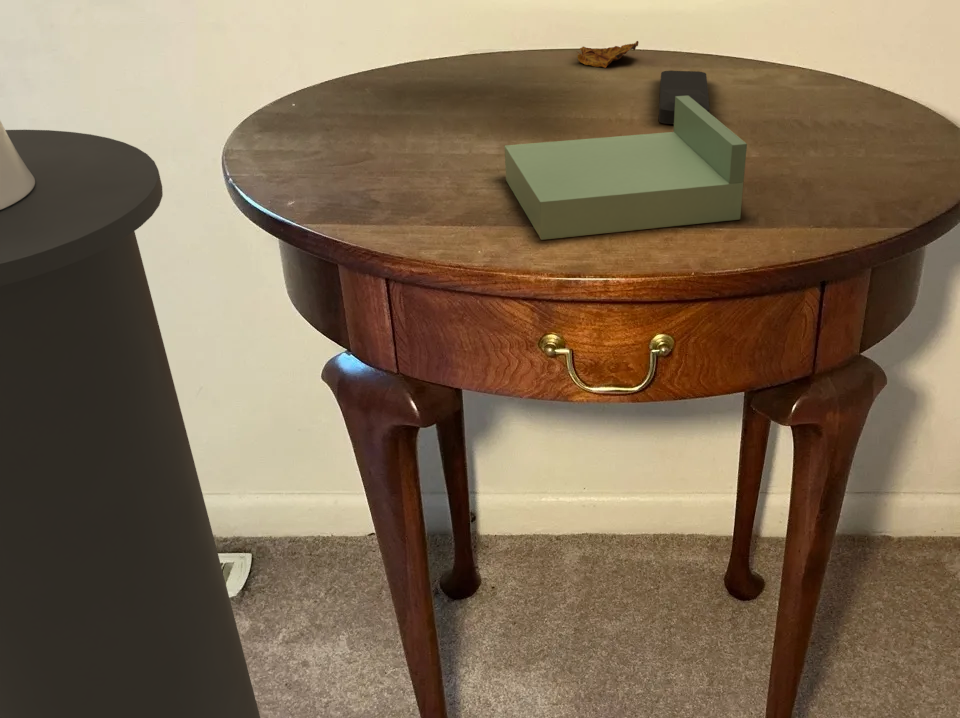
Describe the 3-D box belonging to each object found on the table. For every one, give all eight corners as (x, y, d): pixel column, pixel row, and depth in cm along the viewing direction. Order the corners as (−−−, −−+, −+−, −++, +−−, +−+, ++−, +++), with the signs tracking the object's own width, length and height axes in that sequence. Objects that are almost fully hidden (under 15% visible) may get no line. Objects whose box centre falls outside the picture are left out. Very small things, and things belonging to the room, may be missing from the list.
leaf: (592, 51, 125) (590, 37, 124) (645, 51, 122) (644, 36, 121) (569, 70, 120) (567, 55, 119) (624, 70, 118) (622, 55, 117)
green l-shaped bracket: (540, 240, 78) (539, 161, 75) (505, 180, 89) (502, 108, 85) (740, 219, 82) (747, 143, 79) (684, 164, 92) (688, 95, 89)
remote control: (660, 87, 114) (658, 124, 101) (660, 69, 113) (659, 105, 101) (705, 88, 114) (709, 125, 101) (706, 71, 113) (710, 106, 100)
